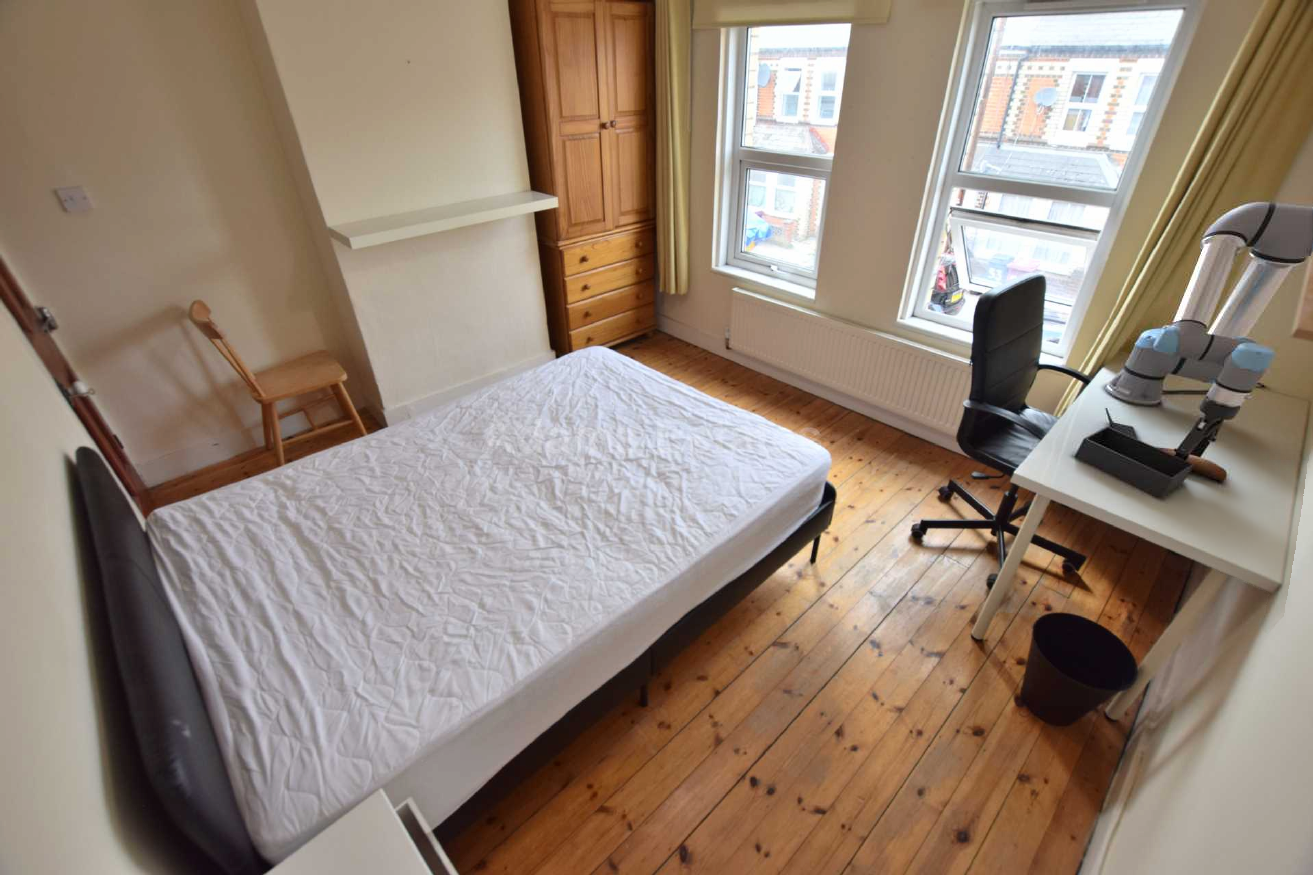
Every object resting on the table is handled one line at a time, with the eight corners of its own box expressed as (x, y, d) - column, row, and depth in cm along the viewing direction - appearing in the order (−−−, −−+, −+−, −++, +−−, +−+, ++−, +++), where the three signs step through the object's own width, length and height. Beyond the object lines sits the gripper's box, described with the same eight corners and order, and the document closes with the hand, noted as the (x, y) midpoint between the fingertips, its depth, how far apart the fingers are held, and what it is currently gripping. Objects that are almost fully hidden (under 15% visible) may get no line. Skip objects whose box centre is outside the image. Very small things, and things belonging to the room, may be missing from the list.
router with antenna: (1148, 442, 172) (1136, 414, 170) (1120, 452, 175) (1107, 424, 173) (1132, 427, 182) (1120, 401, 180) (1106, 437, 185) (1094, 411, 183)
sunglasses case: (1223, 469, 163) (1234, 458, 157) (1215, 489, 161) (1226, 478, 156) (1146, 445, 172) (1154, 434, 167) (1138, 464, 171) (1146, 453, 165)
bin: (1097, 444, 173) (1107, 426, 170) (1182, 483, 158) (1195, 464, 154) (1074, 457, 168) (1083, 438, 164) (1160, 499, 152) (1173, 479, 148)
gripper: (1221, 419, 145) (1177, 485, 157) (1259, 395, 156) (1216, 459, 168) (1186, 406, 150) (1146, 471, 162) (1225, 384, 161) (1185, 446, 173)
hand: (1181, 465), depth 165 cm, fingers open, 13 cm apart
